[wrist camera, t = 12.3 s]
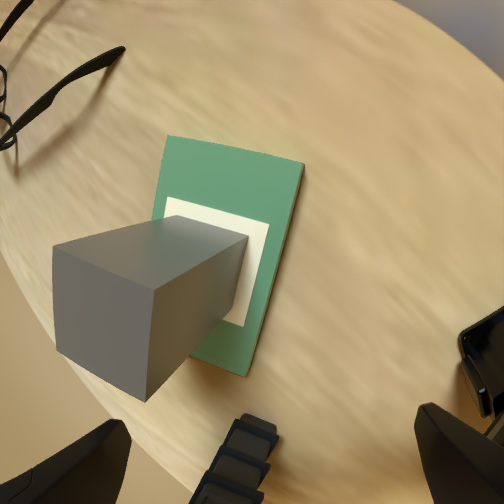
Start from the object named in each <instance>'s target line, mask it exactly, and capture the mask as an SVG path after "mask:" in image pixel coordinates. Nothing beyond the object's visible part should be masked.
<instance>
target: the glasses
mask: <svg viewBox="0 0 504 504" xmlns="http://www.w3.org/2000/svg"><path fill="white" fill-rule="evenodd" d="M33 1H34V0H21V1H20V2H19V3H18V4H17V5H16V7H15V8H14V9H13V11H12V12H11V13H10V15H9V16H8V18H7V19H6V21H5V22H4V24H3V25H2V27H1V29H0V42H1V40H2V39H3V37H4V36H5V35H6V33H7V32H8V31H9V30H10V28H11V27H12V26H13V24H14V23H15V22H16V21H17V19H18V18H19V17H20V16H21V15H22V14H23V12H24V11H25V10H26V9H27V8H28V7H29V6H30V5H31V4H32V3H33ZM124 50H125V47H124V46H119V47H116V48H114V49H111V50H109V51H107V52H105V53H103V54H101V55H99V56H97V57H95V58H94V59H92V60H90V61H88V62H86V63H85V64H83V65H81V66H80V67H78V68H77V69H75V70H74V71H72V72H71V73H70V74H68V75H67V76H66V77H64V78H63V79H62V80H61V81H60V82H58V83H57V84H56V85H55V86H54V87H52V88H51V89H50V90H49V91H48V92H46V93H45V94H44V95H43V96H42V97H41V98H40V99H38V100H37V101H36V102H35V103H34V104H33V105H32V106H31V107H30V108H29V109H28V110H27V111H26V112H25V113H24V114H23V115H22V116H21V117H20V118H19V119H18V120H17V121H16V122H15V123H14V124H13V125H12V123H11V119H10V117H9V116H7V115H6V114H4V113H2V112H0V118H2V119H4V120H6V121H7V122H8V124H9V126H10V129H9V130H8V131H7V132H6V133H5V134H4V136H3V137H2V138H1V139H0V151H2V150H5V149H8V148H10V147H11V146H12V145H13V144H14V143H15V141H16V137H17V136H16V133H17V132H18V131H19V130H21V129H22V128H23V127H24V126H25V125H27V124H28V123H29V122H30V121H32V120H33V119H34V118H35V117H37V116H38V115H39V114H40V113H42V112H43V111H44V110H46V109H47V108H48V107H49V106H50V105H51V104H52V102H53V100H54V98H55V96H56V95H57V93H58V92H59V91H60V90H61V89H62V88H63V87H64V86H66V85H67V84H69V83H70V82H72V81H74V80H76V79H79V78H81V77H83V76H85V75H87V74H90V73H92V72H95V71H97V70H100V69H102V68H104V67H107V66H109V65H111V64H112V63H113V61H114V60H115V59H116V58H117V57H118V56H119V55H120V54H121V53H122V52H123V51H124ZM0 70H1V71H2V73H3V76H4V85H5V87H4V94H3V95H2V96H0V103H1V102H2V101H3V100H4V98H5V97H6V80H7V72H6V70H5V69H4V67H3V66H1V65H0ZM12 136H13V140H12V141H10V142H8V143H5V142H6V141H8V140H9V139H10V138H11V137H12ZM4 143H5V144H4Z"/></svg>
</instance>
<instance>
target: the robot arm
mask: <svg viewBox="0 0 504 504" xmlns="http://www.w3.org/2000/svg"><path fill="white" fill-rule="evenodd" d="M466 335H468V337H467V338H466V339H464V337H465V336H466ZM459 340H460V343H461V347H462V350H463V353H464V357H465V358H464V359H463V360H462V362H461V365H462V368H463V372H464V375H465V379H466V383H467V386H468V388H469V391H470V393H471V395H472V397H473V399H474V401H475V404H476V406H477V408H478V410H479V412H480V415H481V417H484V418H486V417H487V416H489V415H490V417H491V419H492V421H493V423H492V424H491V425H490V427H489V428H488V429H487V431H486V432H485V433H484V434H481V433H480V432H478V431H476V430H475V429H473V428H472V427H470V426H469V425H467V424H465V423H464V422H462V421H461V420H459V419H458V418H456V417H455V416H453V415H451V414H450V413H448V412H447V411H445V410H444V409H442V408H441V407H439V406H438V405H436V404H435V403H432V402H430V403H426V404H422V405H420V406H419V408H418V411H417V415H416V419H415V423H414V431H415V435H416V439H417V444H418V448H419V453H420V457H421V462H422V467H423V471H424V474H425V477H426V480H427V483H428V486H429V489H430V492H431V495H432V498H433V501H434V504H504V306H503V307H501V308H500V309H498V310H497V311H495V312H493V313H492V314H490V315H489V316H487V317H485V318H484V319H482V320H480V321H479V322H477V323H475V324H474V325H472V326H470V327H468V328H467V329H465V330H463V331H462V332H461V333H460V335H459ZM131 442H132V440H131V436H130V434H129V432H128V430H127V428H126V426H125V424H124V422H123V421H122V420H118V419H109V420H108V421H106V422H105V423H103V424H102V425H100V426H98V427H97V428H95V429H94V430H92V431H91V432H89V433H88V434H86V435H85V436H83V437H81V438H80V439H78V440H77V441H75V442H74V443H72V444H71V445H69V446H67V447H66V448H64V449H62V450H61V451H59V452H58V453H56V454H54V455H53V456H51V457H49V458H48V459H46V460H45V461H43V462H41V463H40V464H38V465H36V466H35V467H34V468H31V469H30V470H28V471H26V472H24V473H22V474H21V475H19V476H17V477H15V478H13V479H11V480H9V481H7V482H5V483H3V484H0V504H116V500H117V498H118V495H119V492H120V489H121V486H122V483H123V479H124V475H125V471H126V466H127V461H128V457H129V452H130V448H131Z"/></svg>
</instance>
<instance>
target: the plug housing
mask: <svg viewBox="0 0 504 504" xmlns="http://www.w3.org/2000/svg"><path fill="white" fill-rule="evenodd" d="M248 237H249V235H245V234H242V233H238V232H235V231H231V230H228V229H224V228H221V227H218V226H214V225H211V224H207V223H204V222H200V221H197V220H193V219H190V218H186V217H182V216H179V215H174V216H170V217H166V218H161V219H157V220H153V221H148V222H144V223H140V224H136V225H132V226H127V227H123V228H119V229H115V230H111V231H107V232H103V233H99V234H96V235H92V236H88V237H84V238H80V239H76V240H73V241H69V242H65V243H62V244H58V245H54V246H53V256H52V283H53V311H54V326H55V338H56V348H57V351H59V352H60V353H61V354H63V355H64V356H66V357H67V358H69V359H70V360H72V361H74V362H75V363H77V364H78V365H80V366H81V367H83V368H85V369H86V370H88V371H89V372H91V373H93V374H94V375H96V376H98V377H99V378H101V379H103V380H104V381H106V382H108V383H110V384H111V385H113V386H115V387H117V388H118V389H120V390H122V391H124V392H126V393H128V394H129V395H131V396H133V397H135V398H137V399H139V400H141V401H143V402H146V401H147V400H148V399H149V398H150V397H151V396H152V395H153V394H154V393H155V392H156V391H157V390H158V389H159V388H160V386H161V385H162V384H163V383H164V382H165V381H166V380H167V379H168V378H169V377H170V376H171V375H172V374H173V373H174V371H175V370H176V369H177V368H178V367H179V366H180V365H181V364H182V363H183V362H184V361H185V360H186V358H187V357H188V356H189V355H190V354H191V353H192V352H193V351H194V350H195V349H196V348H197V346H198V345H199V344H200V343H201V342H202V341H203V340H204V339H205V338H206V337H207V336H208V334H209V333H210V332H211V331H212V330H213V329H214V328H215V327H216V326H217V325H218V323H219V322H220V321H221V320H222V319H223V318H224V317H225V316H226V315H227V313H228V312H229V311H230V310H231V309H232V306H233V302H234V297H235V293H236V288H237V284H238V280H239V275H240V271H241V267H242V262H243V258H244V254H245V250H246V245H247V241H248Z"/></svg>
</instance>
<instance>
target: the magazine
mask: <svg viewBox="0 0 504 504" xmlns="http://www.w3.org/2000/svg"><path fill="white" fill-rule="evenodd" d="M275 432H276V426H275V425H274V424H271V423H269V422H266V421H264V420H261V419H259V418H256V417H254V416H252V415H249V414H246V413H245V414H243V415H242V416H241V418H240V420H239V419H235V420H234V422H233V424H232V426H231V428H230V430H229V432H228V434H227V437H226V439H225V441H224V443H223V445H221V446H220V448H219V450H218V452H217V454H216V456H215V458H214V460H213V462H212V464H211V466H210V468H209V470H206V472H205V473H204V475H203V477H202V479H201V481H200V483H199V485H198V487H197V489H196V490H195V492H194V494H193V496H192V498H191V500H190V502H189V504H261V502H262V501H263V499H264V493H263V492H260V491H257V489H258V487H259V486H260V484H261V482H262V481H263V479H264V478H265V476H266V474H267V473H268V471H269V469H270V466H271V464H268V463H266V462H265V461H266V460H267V458H268V457H269V455H270V453H271V452H272V450H273V449H274V447H275V445H276V444H277V442H278V439H279V436H278V435H275Z"/></svg>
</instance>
